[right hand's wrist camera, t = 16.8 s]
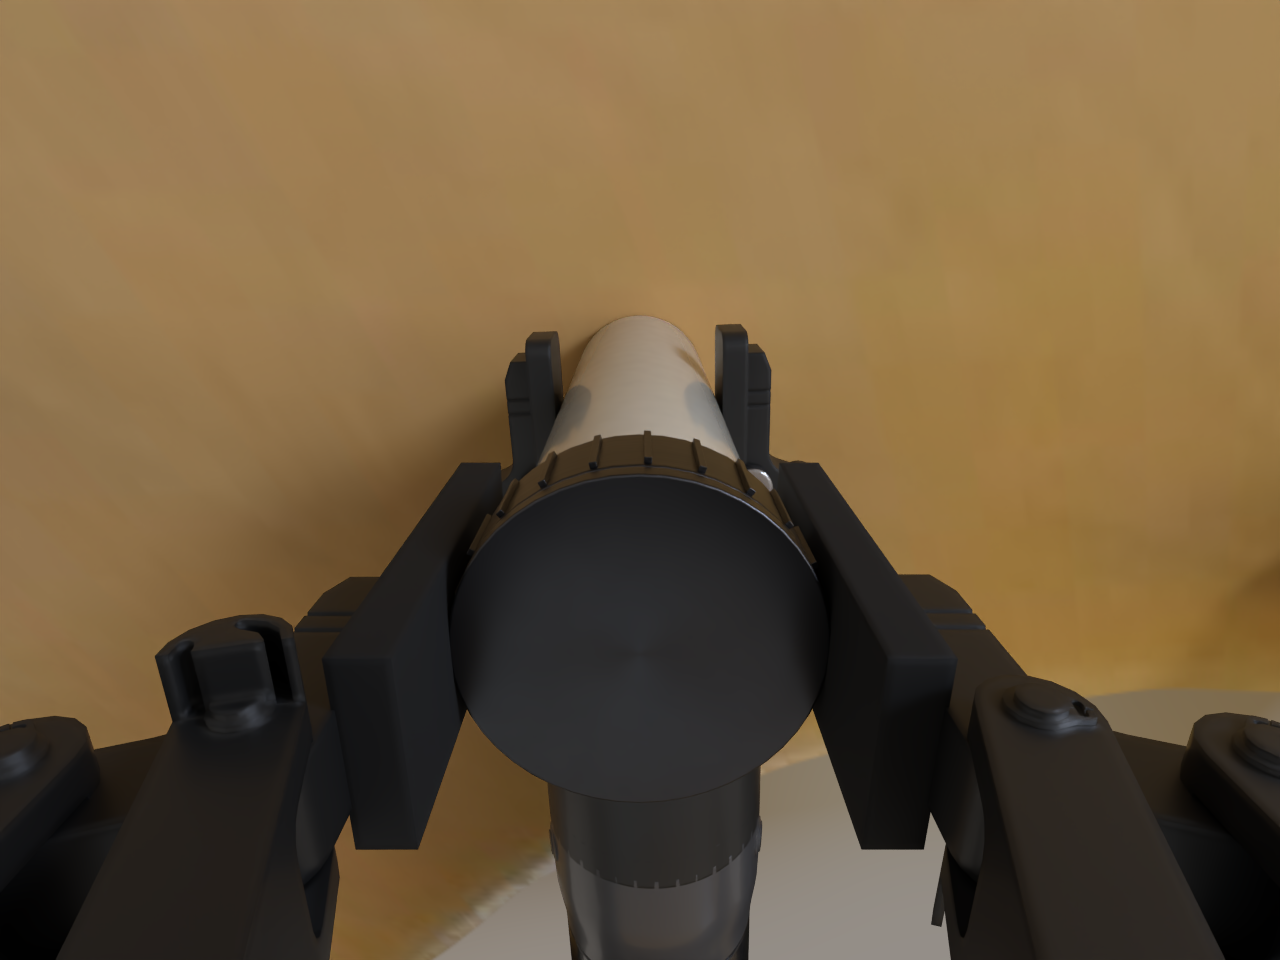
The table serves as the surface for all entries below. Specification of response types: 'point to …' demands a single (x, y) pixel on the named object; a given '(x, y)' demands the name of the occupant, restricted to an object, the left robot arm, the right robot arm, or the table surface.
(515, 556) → the lid
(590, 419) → the jar
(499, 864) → the table surface
